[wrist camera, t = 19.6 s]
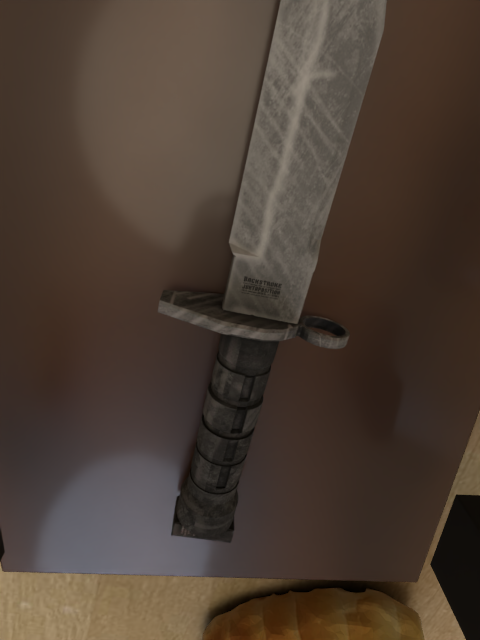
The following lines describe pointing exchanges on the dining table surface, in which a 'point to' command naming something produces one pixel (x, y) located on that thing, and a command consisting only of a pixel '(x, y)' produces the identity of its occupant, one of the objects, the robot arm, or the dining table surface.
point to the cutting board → (211, 277)
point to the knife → (275, 238)
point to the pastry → (318, 618)
